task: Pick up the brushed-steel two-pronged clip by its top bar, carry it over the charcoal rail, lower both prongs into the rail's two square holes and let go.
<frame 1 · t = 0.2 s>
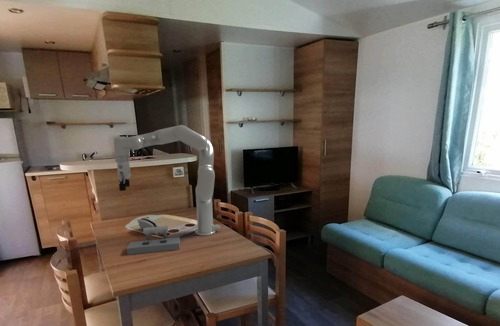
hand: (124, 188, 157), 31 cm above the table, tool pointing down, fingers open, 9 cm apart
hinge: (149, 231, 173), on the table
clip: (156, 242, 157), on the table
rail: (154, 248, 148), on the table
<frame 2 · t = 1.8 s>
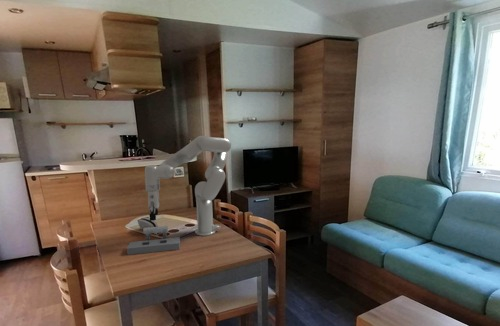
hand: (153, 217, 155), 15 cm above the table, tool pointing down, fingers open, 9 cm apart
nothing on the table moved.
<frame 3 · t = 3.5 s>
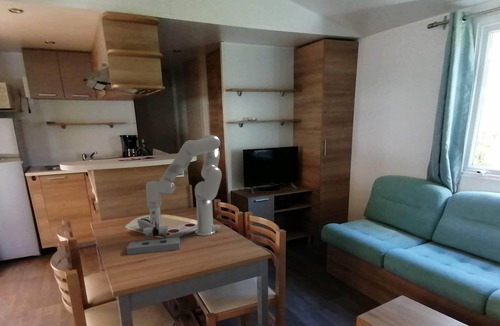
hand: (156, 234, 156), 5 cm above the table, tool pointing down, fingers closed on clip, 3 cm apart
clip: (156, 242, 157), on the table, touching gripper
everything else where it was.
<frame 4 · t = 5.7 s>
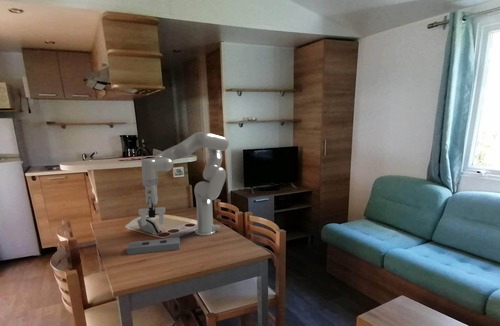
hand: (152, 216, 146), 18 cm above the table, tool pointing down, fingers closed on clip, 3 cm apart
clip: (152, 224, 147), point 14 cm above the table, touching gripper
everything else where it was.
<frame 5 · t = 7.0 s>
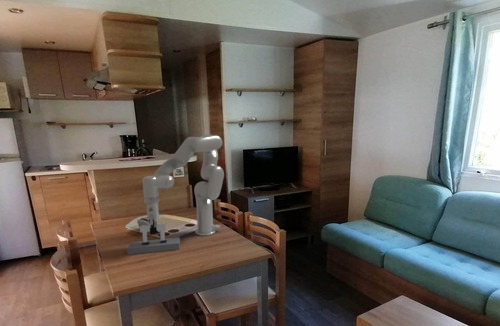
hand: (153, 232, 147), 9 cm above the table, tool pointing down, fingers closed on clip, 3 cm apart
clip: (154, 240, 148), point 5 cm above the table, touching gripper
everything else where it was.
when the fingers open (5 cm above the table, at t = 8.1 s): clip stays where it is, on the table.
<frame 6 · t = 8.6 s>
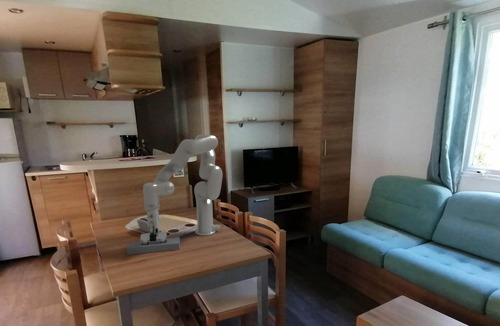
hand: (154, 237, 147), 6 cm above the table, tool pointing down, fingers open, 8 cm apart
clip: (154, 248, 148), on the table
everything else where it was.
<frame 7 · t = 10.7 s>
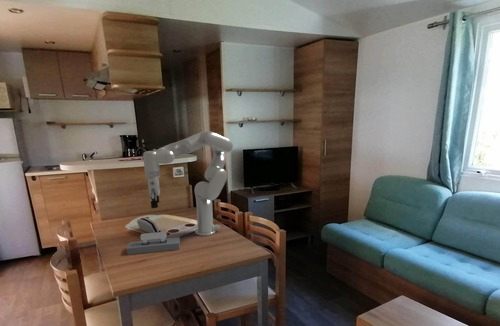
hand: (155, 205, 149), 23 cm above the table, tool pointing down, fingers open, 9 cm apart
nothing on the table moved.
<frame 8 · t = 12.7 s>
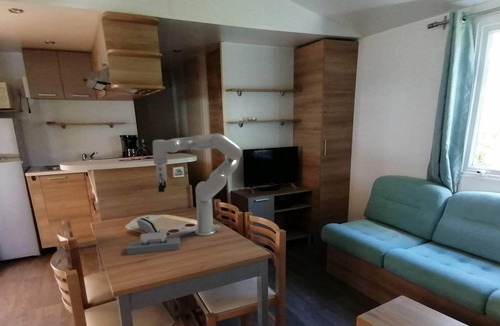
hand: (162, 189, 162), 28 cm above the table, tool pointing down, fingers open, 9 cm apart
at the end: clip 0.1 cm off-centre on the rail, point 0.0 cm above the rail's base; clip tilted 0°; the gripper is holding nothing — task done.
